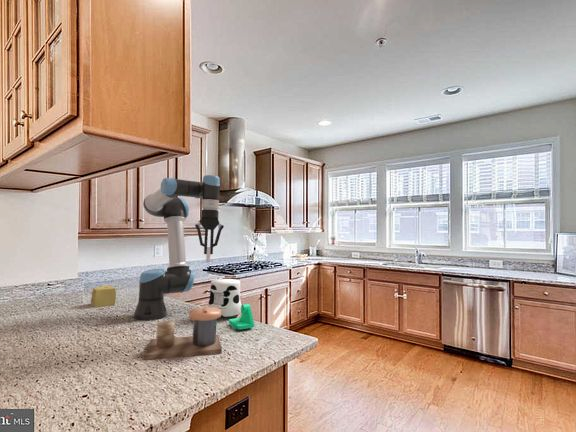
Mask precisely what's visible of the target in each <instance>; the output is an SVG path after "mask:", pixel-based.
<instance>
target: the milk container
mask: <svg viewBox="0 0 576 432" xmlns="http://www.w3.org/2000/svg"><path fill="white" fill-rule="evenodd" d="M209 287H210V288H209V298H208V299H209V300H208V303H207V307H214V308H219V309H221V317H220V318H219V319H229V318H230V319H232V318H235V317H237V316H239V315H241V305H242V302H241V301H242V300H241V280H239V279H234V278H233V279H232V278H217V279H212V280H211V281H210V285H209Z"/></svg>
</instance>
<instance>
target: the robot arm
mask: <svg viewBox="0 0 576 432" xmlns="http://www.w3.org/2000/svg"><path fill="white" fill-rule="evenodd" d="M220 180H221V179H220V177H219V176H218V175H212V174H205V175H203V177H202V181H195V180H187V179H186V180H185V179H178V178H173V177H164V178H163V179H162V181H161V182H160V188H158V190H156V191H155V192H154V193H150V194H148V195H147V196H146V197H145V198H144V200H143V204H142V206H143V208H144V210H145V212H146V213H148V214H149V215H151V216H154V217H158V218H160V217H161V218H163V221H164V222H165V224H166V227H167V228H166V229H167V245H168V263H169V264H168V266H167V268H166V270H165V268H153V269H147V270H144V271H142V272H141V273H140V275H139V282H138V283H139V287H138V288H139V289H138V302H137V305H136V307H135V310H134V312H133V318H134V319H135V320H139V321H151V320H158V319H159V320H160V319H162V318H163V319H164V318H165V317H166V316H167V312H168V311H167V307H166V304H165V300H164V297H165V295H167V294H177V293H180V294H181V293H185V292H189V291H190V290H191V289H192V288H193V285H194V281H195V272H194V270H192V269H190V265H189V264H187V258H186V246H185V245H186V244H185V231H184V230H185V229H184V222H185V221H186V220H187V219H186V218H188V216H189V211H190V207H189V203H188V201H187V200H186V199H185V198H182V197H187V198H188V197H189V198H195V199H201V209H202V210H201V216H200V220H199V222H198V223H196V224H195V225H194V227H195V228H196V231H197V235H198V241H199V244H200V246H201V247H203V254H204V255H206V257H205V259H206V261H205V262H206V263H210V262H211V255H213V254H214V247H217V246H218V243H219V241H220V236H221V233H222V230H223V228H224V227H225V226H224V225H223V224H221V223H220V220H219V213H220V212H219V209H220V207H219V206H220V189H221V188H220V186H221V184H220V183H221V181H220ZM201 227H202V228H203V229H204V242H203V237H202V233H201ZM216 228H218V229H217V233H216V236H215V240H214V233H215V229H216ZM209 230H210V243H209V246H208V238H209V237H208V235H209Z"/></svg>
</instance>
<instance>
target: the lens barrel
mask: <svg viewBox="0 0 576 432" xmlns="http://www.w3.org/2000/svg"><path fill="white" fill-rule="evenodd" d="M216 335H217V319H214V320H207V321H198V320H192V336H193V340H192V343H193V345H195V346H200V347H205V346H210V345H213V344H214V343H215V342H216Z"/></svg>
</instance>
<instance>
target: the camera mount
mask: <svg viewBox="0 0 576 432" xmlns="http://www.w3.org/2000/svg"><path fill="white" fill-rule="evenodd" d="M251 306H252V305H250V304H249V303H246V304H245V303H244V304H241V312H240V317H236V318H235V317H234V318H230V319H229V318H228V324H229V325H230V326H231V328H232V329H234V330H245V329H251V328H255V323H254V317H253V316H254V315H253V313H252V312H253V311H252V307H251Z"/></svg>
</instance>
